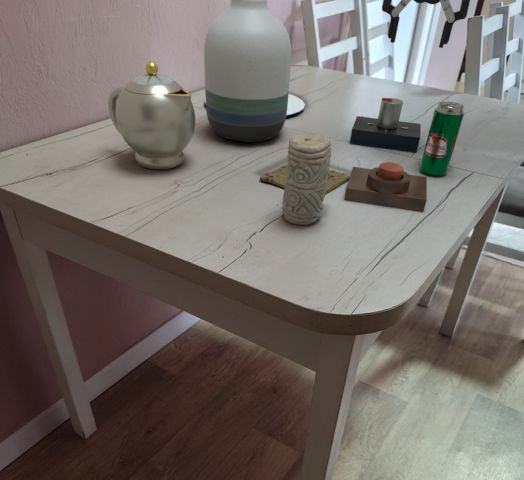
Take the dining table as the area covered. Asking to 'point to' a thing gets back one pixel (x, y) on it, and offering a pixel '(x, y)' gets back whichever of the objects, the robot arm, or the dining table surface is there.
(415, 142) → the dial panel
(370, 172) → the button console
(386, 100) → the dial
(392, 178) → the release button
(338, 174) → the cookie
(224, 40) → the vase
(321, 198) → the carving
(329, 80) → the dining table surface
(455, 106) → the soda can
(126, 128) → the teapot
